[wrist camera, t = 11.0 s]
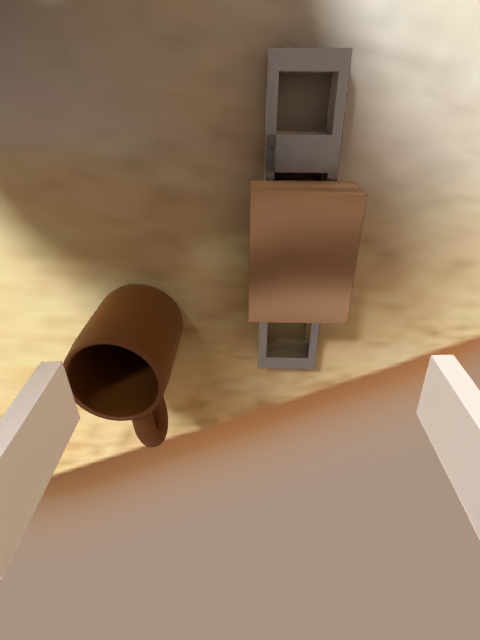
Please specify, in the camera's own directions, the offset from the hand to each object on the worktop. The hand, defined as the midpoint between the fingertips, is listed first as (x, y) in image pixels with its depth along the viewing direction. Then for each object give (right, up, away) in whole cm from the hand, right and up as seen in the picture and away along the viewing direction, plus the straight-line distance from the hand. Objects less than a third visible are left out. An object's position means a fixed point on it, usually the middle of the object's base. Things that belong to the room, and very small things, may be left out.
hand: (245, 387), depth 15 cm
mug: (-9, +1, +24) cm, 25 cm away
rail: (+4, +10, +18) cm, 21 cm away
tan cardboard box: (+4, +10, +18) cm, 21 cm away
